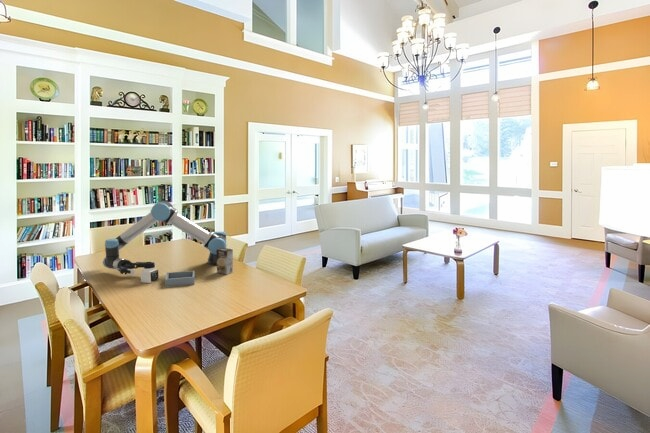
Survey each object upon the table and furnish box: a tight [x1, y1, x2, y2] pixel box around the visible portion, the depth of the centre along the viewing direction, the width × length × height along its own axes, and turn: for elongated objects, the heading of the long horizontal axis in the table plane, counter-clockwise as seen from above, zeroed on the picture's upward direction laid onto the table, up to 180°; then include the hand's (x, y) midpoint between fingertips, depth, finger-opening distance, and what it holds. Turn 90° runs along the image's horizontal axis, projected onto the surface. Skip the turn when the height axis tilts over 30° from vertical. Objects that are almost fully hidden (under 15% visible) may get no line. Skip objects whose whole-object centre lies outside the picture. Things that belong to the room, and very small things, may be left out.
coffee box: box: [216, 247, 234, 275], centre depth 240 cm, size 9×6×16 cm
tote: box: [164, 270, 196, 288], centre depth 220 cm, size 16×14×4 cm
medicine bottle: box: [140, 260, 160, 284], centre depth 220 cm, size 7×7×12 cm
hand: (144, 269), depth 221 cm, fingers open, 13 cm apart
